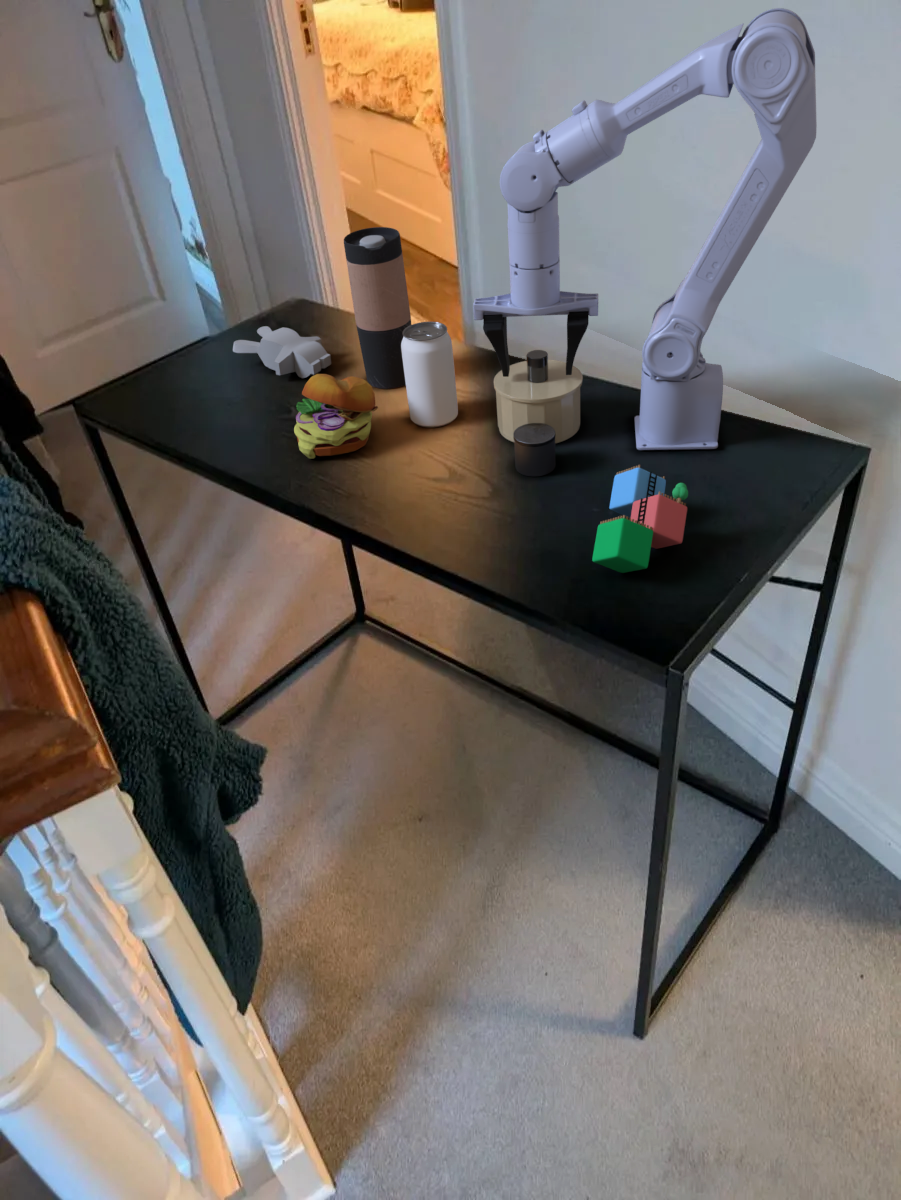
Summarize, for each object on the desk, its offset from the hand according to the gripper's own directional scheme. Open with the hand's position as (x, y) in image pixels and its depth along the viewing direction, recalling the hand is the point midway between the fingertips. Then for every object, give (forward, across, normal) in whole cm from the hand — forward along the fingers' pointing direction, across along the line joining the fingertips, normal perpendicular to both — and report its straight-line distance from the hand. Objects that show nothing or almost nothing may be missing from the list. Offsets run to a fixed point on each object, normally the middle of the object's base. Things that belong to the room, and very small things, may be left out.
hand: (537, 372), depth 110 cm
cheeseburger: (+8, +26, +3) cm, 27 cm away
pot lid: (+1, 0, 0) cm, 1 cm away
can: (+8, +14, -3) cm, 16 cm away
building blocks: (+8, -11, +26) cm, 29 cm away
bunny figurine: (+8, +39, -20) cm, 44 cm away
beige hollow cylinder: (+7, 0, 0) cm, 7 cm away
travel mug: (+8, +22, -15) cm, 28 cm away
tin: (+7, 0, +10) cm, 12 cm away
